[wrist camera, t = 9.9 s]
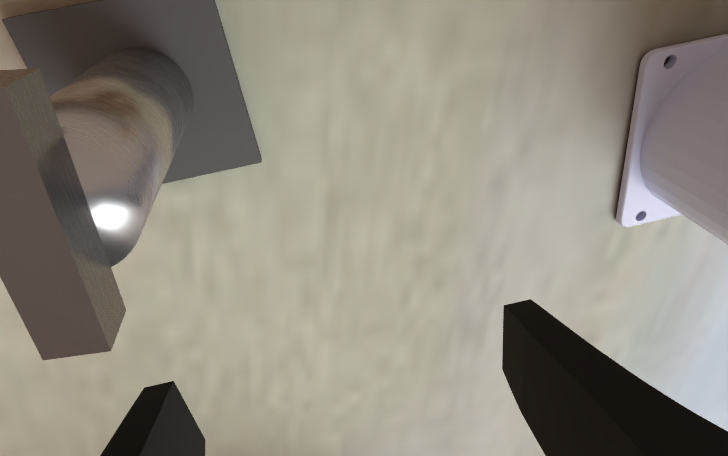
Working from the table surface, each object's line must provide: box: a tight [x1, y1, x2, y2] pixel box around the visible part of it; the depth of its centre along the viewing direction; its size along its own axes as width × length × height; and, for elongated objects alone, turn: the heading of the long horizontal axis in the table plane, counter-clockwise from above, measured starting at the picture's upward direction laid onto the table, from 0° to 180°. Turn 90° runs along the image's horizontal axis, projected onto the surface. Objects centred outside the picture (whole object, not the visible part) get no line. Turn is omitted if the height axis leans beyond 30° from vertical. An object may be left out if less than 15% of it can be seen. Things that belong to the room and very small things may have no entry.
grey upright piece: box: [0, 47, 194, 360], centre depth 12 cm, size 3×5×9 cm, turn 1°
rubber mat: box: [2, 0, 261, 184], centre depth 16 cm, size 6×6×1 cm
